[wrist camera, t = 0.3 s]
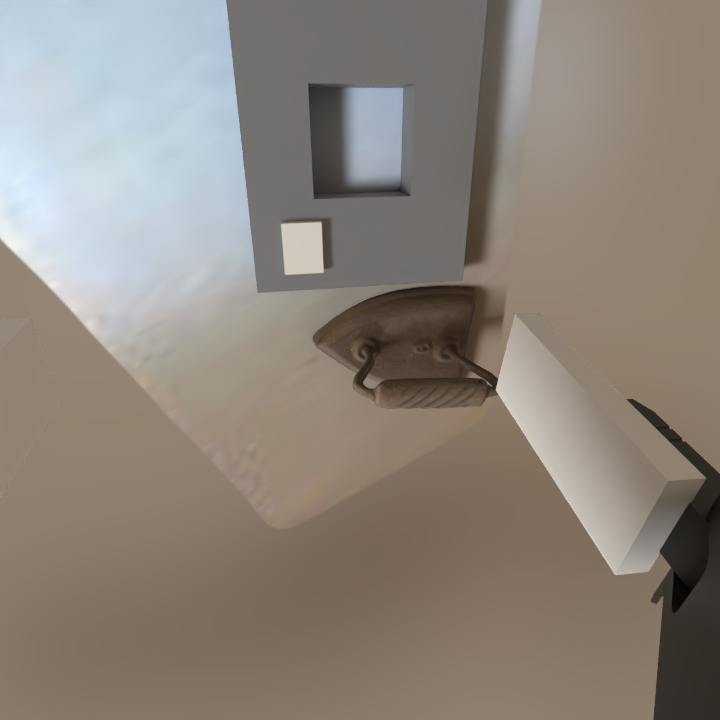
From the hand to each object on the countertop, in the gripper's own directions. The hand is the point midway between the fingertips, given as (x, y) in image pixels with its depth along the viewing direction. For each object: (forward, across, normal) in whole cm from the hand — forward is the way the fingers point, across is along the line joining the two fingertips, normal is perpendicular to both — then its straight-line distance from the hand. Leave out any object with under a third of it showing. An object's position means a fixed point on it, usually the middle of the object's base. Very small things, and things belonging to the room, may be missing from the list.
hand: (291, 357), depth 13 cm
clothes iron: (+25, +9, -13) cm, 29 cm away
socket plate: (+26, +5, +2) cm, 26 cm away
